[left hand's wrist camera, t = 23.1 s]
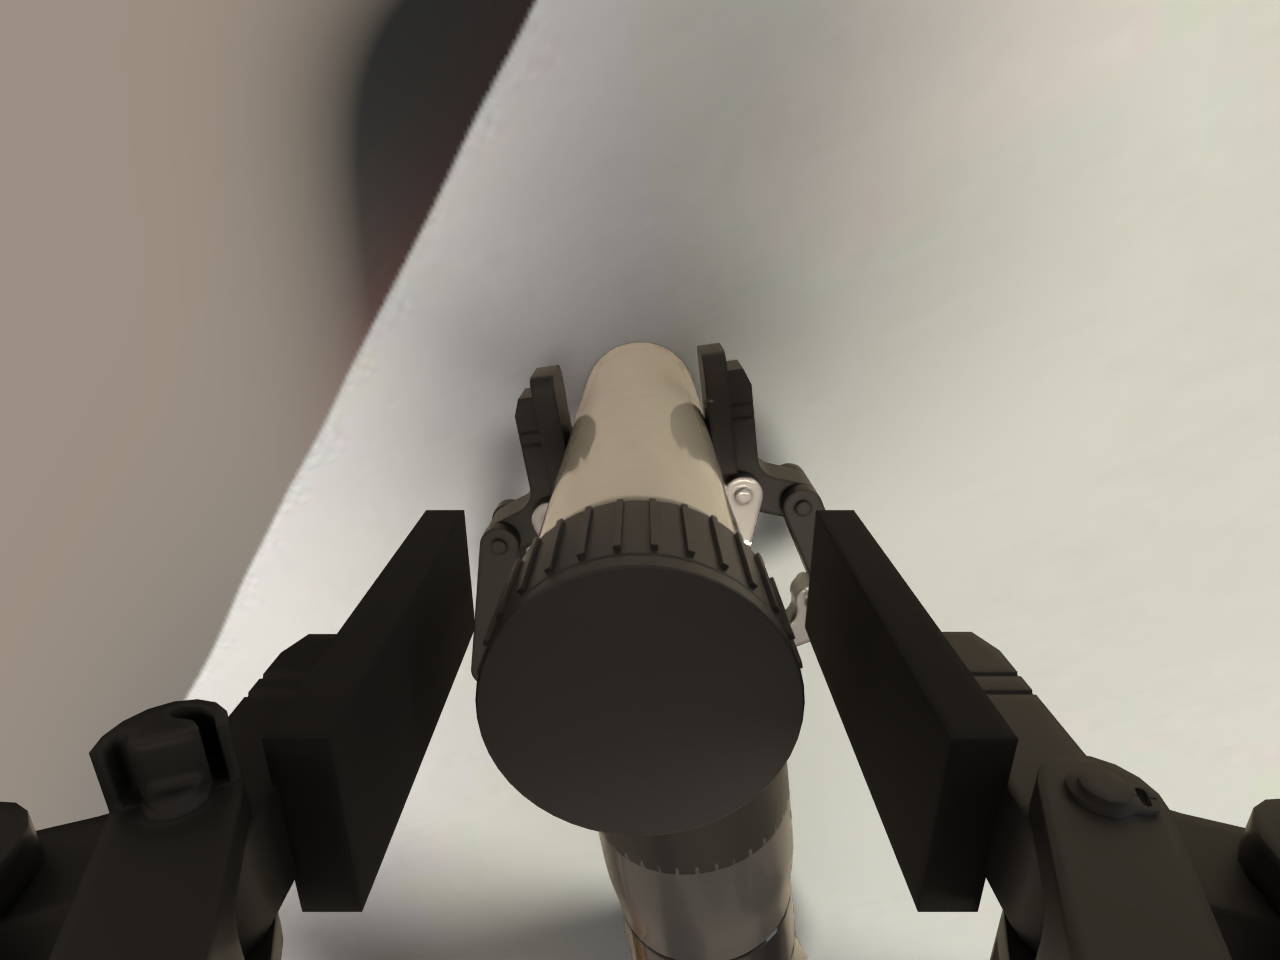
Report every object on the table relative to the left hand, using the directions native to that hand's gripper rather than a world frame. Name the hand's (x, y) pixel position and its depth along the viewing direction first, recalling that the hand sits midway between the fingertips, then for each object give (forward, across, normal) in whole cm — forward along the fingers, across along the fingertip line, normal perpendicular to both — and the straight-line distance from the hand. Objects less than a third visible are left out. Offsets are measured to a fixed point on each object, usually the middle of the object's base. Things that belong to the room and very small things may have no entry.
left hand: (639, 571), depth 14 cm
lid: (-4, 0, 0) cm, 4 cm away
